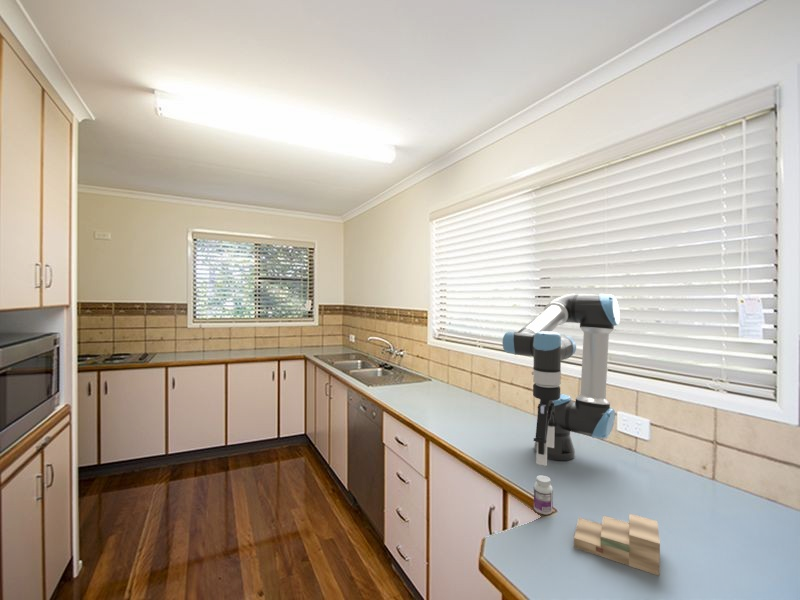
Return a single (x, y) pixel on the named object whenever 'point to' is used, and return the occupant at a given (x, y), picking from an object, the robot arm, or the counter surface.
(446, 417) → the counter surface
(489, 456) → the counter surface
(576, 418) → the robot arm
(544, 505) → the pill bottle
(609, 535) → the stepped stand
